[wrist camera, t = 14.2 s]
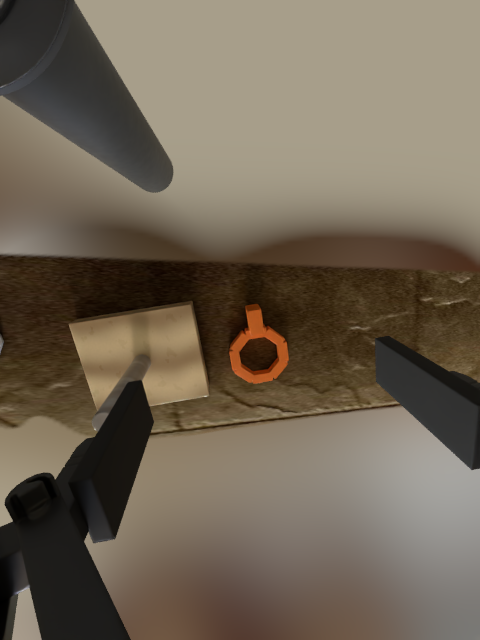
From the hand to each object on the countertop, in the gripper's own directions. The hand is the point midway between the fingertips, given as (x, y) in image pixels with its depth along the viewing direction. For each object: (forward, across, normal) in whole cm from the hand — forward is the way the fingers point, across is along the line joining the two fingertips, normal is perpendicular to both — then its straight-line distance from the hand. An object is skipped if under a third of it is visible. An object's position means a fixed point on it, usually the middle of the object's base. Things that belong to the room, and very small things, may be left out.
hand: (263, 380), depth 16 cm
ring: (+20, +2, -6) cm, 21 cm away
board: (+20, -12, -5) cm, 24 cm away
